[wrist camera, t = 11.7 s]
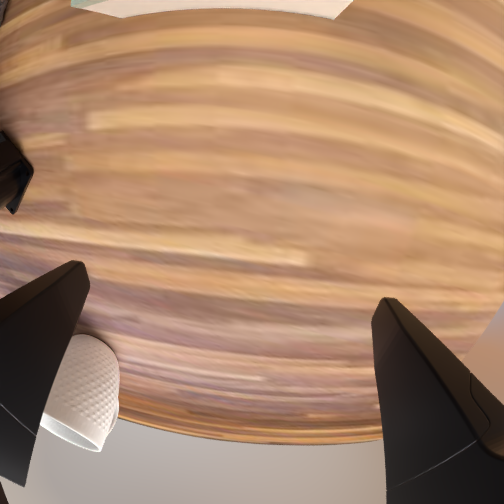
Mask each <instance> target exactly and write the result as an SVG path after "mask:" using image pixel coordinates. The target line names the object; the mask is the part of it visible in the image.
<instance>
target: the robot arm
mask: <svg viewBox="0 0 504 504" xmlns="http://www.w3.org/2000/svg"><path fill="white" fill-rule="evenodd" d="M28 172H29V173H28ZM32 176H33V169H32V168H31V167H30V165H29V164H28V163H27V162H26V160H25V159H24V158H23V157H22V155H21V154H20V153H19V152H18V150H17V149H16V148H15V146H14V145H13V144H12V143H11V141H10V140H9V139H8V137H7V136H6V134H5V133H4V132H3V131H0V210H1V209H2V208H4V207H5V206H6V208H7V209H8V210H9V211H10V213H11V214H15V213H16V212H17V210H18V207H19V205H20V203H21V200H22V198H23V196H24V193H25V191H26V189H27V187H28V185H29V183H30V180H31V178H32ZM89 289H90V281H89V278H88V274H87V271H86V267H85V264H84V263H83V262H81V261H76V260H71V261H69V262H67V263H65V264H63V265H61V266H59V267H57V268H56V269H54V270H52V271H50V272H48V273H46V274H44V275H42V276H40V277H39V278H37V279H35V280H33V281H31V282H29V283H28V284H26V285H24V286H22V287H20V288H19V289H17V290H15V291H13V292H12V293H10V294H8V295H6V296H5V297H3V298H1V299H0V476H2V477H4V478H6V479H8V480H10V481H12V482H14V483H16V484H18V485H20V486H22V487H25V484H26V478H27V474H28V469H29V464H30V460H31V456H32V451H33V447H34V444H35V440H36V435H37V432H38V429H39V425H40V422H41V419H42V415H43V412H44V409H45V406H46V403H47V400H48V397H49V394H50V391H51V388H52V386H53V383H54V380H55V377H56V375H57V372H58V369H59V367H60V364H61V362H62V359H63V357H64V354H65V352H66V350H67V347H68V345H69V343H70V340H71V338H72V336H73V333H74V331H75V328H76V326H77V323H78V320H79V317H80V314H81V311H82V308H83V306H84V303H85V300H86V297H87V295H88V292H89ZM371 326H372V339H373V354H374V369H375V376H376V383H377V389H378V397H379V404H380V412H381V421H382V430H383V441H384V453H385V468H386V490H387V491H386V499H387V504H504V405H503V404H502V403H501V402H500V401H499V400H498V399H497V398H496V397H495V396H494V395H493V394H492V393H491V392H490V391H489V390H488V389H487V388H486V387H485V386H484V385H483V384H482V383H481V382H480V381H479V380H478V379H477V378H476V377H475V376H474V375H473V374H472V373H470V370H469V369H468V368H467V367H466V366H464V364H463V363H462V362H461V361H460V360H459V359H458V358H457V357H456V356H455V355H454V354H453V353H452V352H451V351H450V350H449V349H448V348H447V347H446V346H445V345H444V344H443V343H442V342H441V341H440V340H439V339H438V338H437V337H436V336H435V335H434V334H433V333H432V332H431V331H430V330H429V329H428V328H427V327H426V326H425V325H424V324H423V323H421V322H420V321H419V320H418V319H417V318H416V317H415V316H414V315H413V314H412V313H411V312H410V311H409V310H408V309H407V308H406V307H404V306H403V305H402V304H401V303H400V302H399V301H398V300H397V299H395V298H389V297H384V298H382V299H381V300H380V302H379V304H378V306H377V308H376V311H375V313H374V315H373V317H372V321H371ZM0 504H9V503H8V501H7V498H6V496H5V493H4V490H3V488H2V485H1V482H0Z"/></svg>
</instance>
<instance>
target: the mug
mask: <svg viewBox="0 0 504 504" xmlns="http://www.w3.org/2000/svg"><path fill="white" fill-rule="evenodd" d="M119 374H120V373H119V366H118V361H117V358H116V356H115V354H114V352H113V351H112V350H111V349H110V348H109V347H108V346H107V345H106V344H105V343H103V342H102V341H100V340H99V339H97V338H95V337H93V336H90V335H86V334H78V335H75V336H72V338H71V340H70V343H69V345H68V347H67V350H66V352H65V354H64V357H63V359H62V362H61V364H60V367H59V369H58V372H57V375H56V377H55V380H54V383H53V386H52V388H51V391H50V394H49V397H48V400H47V403H46V406H45V409H44V412H43V415H42V419H41V422H40V425H41V426H43V427H44V428H46V429H47V430H49V431H51V432H52V433H54V434H55V435H57V436H59V437H61V438H62V439H64V440H66V441H68V442H70V443H72V444H74V445H77V446H79V447H81V448H84V449H87V450H91V451H95V452H99V451H101V450H102V447H103V444H104V441H105V439H106V436H107V435H108V434H109V433H110V431H111V430H112V428H113V427H114V424H115V422H116V420H117V416H118V412H119V401H118V392H119V382H120V381H119V380H120V378H119Z"/></svg>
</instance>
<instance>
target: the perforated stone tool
mask: <svg viewBox="0 0 504 504" xmlns="http://www.w3.org/2000/svg"><path fill="white" fill-rule="evenodd" d="M7 3H8V0H0V25H1V22H2V20H3V13H4V10H5V9H6V5H7Z"/></svg>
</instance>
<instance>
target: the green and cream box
mask: <svg viewBox="0 0 504 504" xmlns="http://www.w3.org/2000/svg"><path fill="white" fill-rule="evenodd" d="M353 1H354V0H71V7H76V8H81V9H86V10H90V11H95V12H99V13H103V14H107V15H111V16H114V17H118V18H126V17H132V16H137V15H144V14H150V13H158V12H166V11H176V10H188V9H209V8H239V9H260V10H273V11H283V12H291V13H299V14H305V15H312V16H317V17H323V18H328V19H333V20H334V19H335V18H336V17H337V16H338V15H339V14H340V13H341V12H342V11H343V10H344V9H345V8H346V7H347V6H348V5H349V4H350V3H351V2H353Z"/></svg>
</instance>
